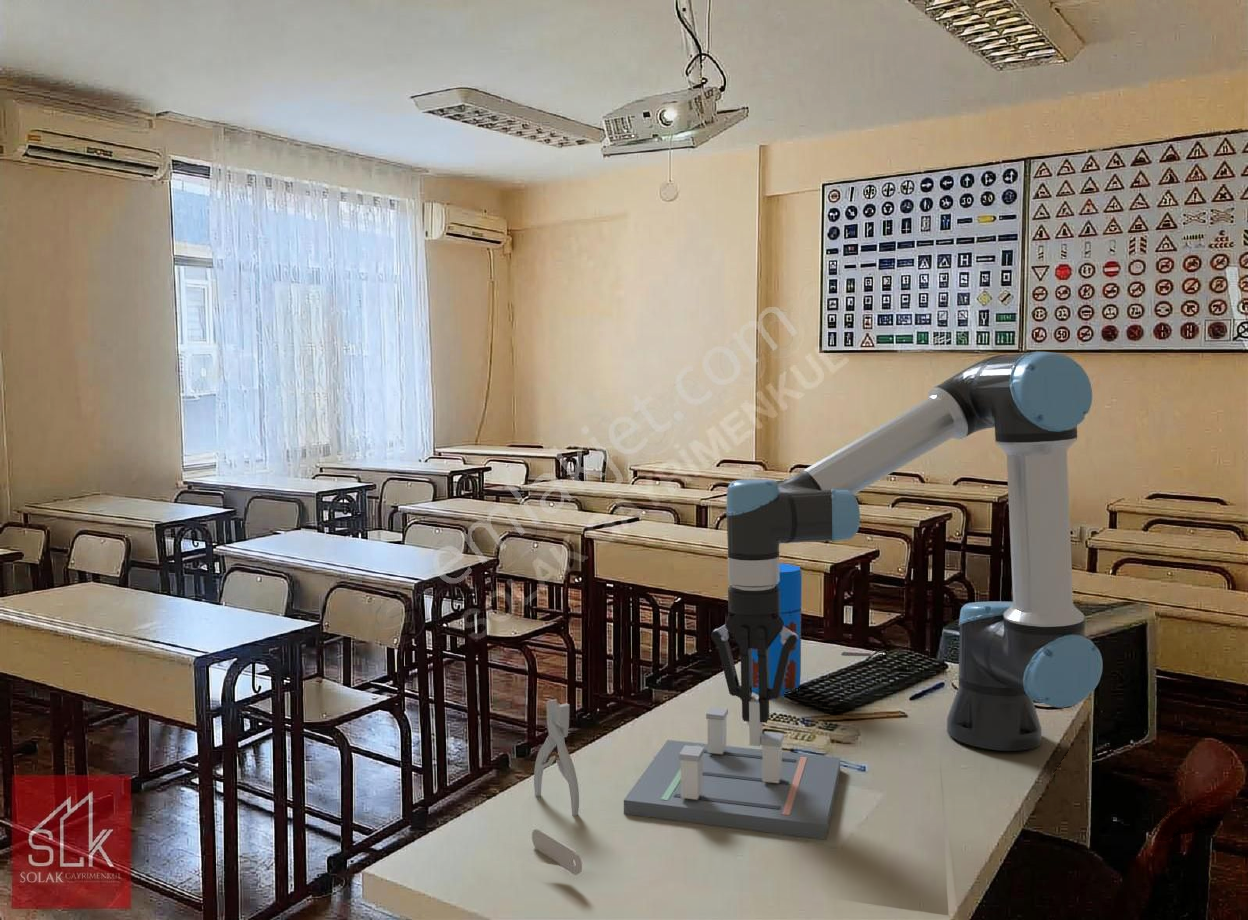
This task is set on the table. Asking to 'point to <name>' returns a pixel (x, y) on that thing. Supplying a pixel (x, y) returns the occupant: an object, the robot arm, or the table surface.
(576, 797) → the pliers
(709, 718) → the block
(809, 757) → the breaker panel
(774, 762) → the block
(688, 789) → the block
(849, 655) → the usb drive
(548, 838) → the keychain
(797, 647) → the thermos
